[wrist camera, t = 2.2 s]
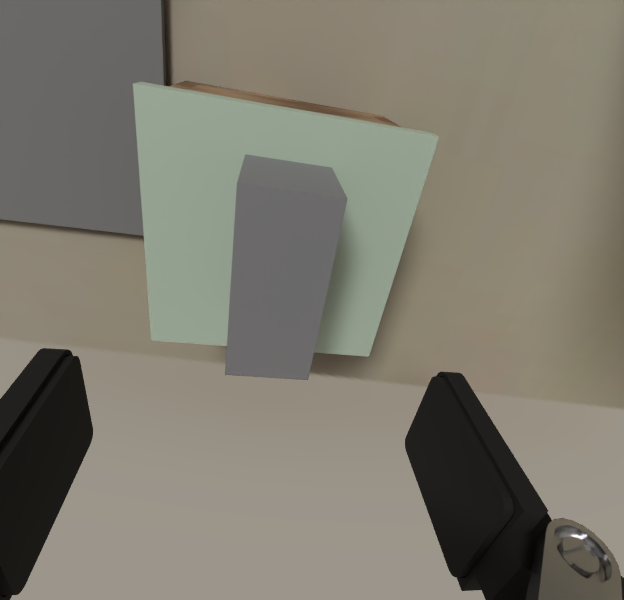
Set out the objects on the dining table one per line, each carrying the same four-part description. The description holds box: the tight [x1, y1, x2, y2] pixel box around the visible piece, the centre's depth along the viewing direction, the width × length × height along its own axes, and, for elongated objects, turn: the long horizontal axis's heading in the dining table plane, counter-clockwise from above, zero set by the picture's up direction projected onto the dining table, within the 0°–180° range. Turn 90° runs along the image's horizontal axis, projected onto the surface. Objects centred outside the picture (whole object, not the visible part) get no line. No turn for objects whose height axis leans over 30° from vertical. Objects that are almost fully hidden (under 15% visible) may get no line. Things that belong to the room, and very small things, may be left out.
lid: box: [133, 82, 439, 380], centre depth 17 cm, size 12×12×6 cm
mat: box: [0, 0, 167, 236], centre depth 20 cm, size 15×15×1 cm
